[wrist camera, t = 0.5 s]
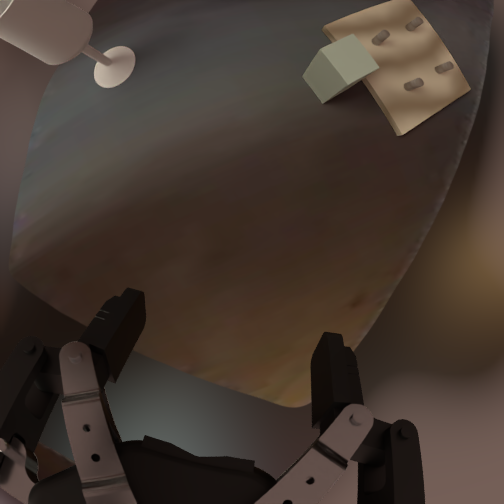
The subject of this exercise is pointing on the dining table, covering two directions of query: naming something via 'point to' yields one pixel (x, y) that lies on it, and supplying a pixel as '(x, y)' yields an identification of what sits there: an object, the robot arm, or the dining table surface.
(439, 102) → the peg board
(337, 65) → the sage block
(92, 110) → the dining table surface
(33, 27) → the champagne flute
